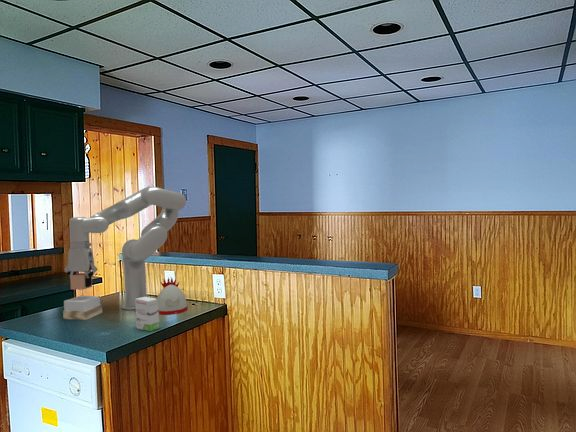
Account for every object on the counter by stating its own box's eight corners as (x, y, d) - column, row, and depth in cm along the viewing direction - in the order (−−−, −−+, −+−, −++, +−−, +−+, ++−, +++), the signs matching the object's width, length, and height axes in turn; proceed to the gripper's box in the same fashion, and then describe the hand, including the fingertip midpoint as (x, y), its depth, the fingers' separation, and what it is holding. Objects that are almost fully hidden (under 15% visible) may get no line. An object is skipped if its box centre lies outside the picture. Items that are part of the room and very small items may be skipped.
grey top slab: (100, 305, 188) (99, 296, 187) (83, 311, 178) (83, 302, 178) (81, 304, 190) (81, 295, 190) (64, 310, 181) (63, 301, 181)
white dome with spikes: (154, 308, 193) (152, 276, 192) (184, 305, 198) (183, 273, 197) (157, 316, 180) (155, 282, 179) (189, 312, 185) (188, 278, 185)
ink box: (160, 328, 164) (158, 298, 163) (149, 331, 160) (148, 301, 159) (146, 324, 169) (145, 295, 168) (135, 328, 165) (134, 298, 164)
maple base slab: (102, 313, 189) (101, 304, 189) (86, 320, 178) (86, 311, 178) (80, 312, 191) (79, 304, 191) (63, 320, 180) (63, 310, 180)
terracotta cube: (92, 286, 186) (91, 273, 186) (83, 289, 180) (82, 275, 180) (80, 286, 187) (79, 273, 187) (70, 289, 181) (70, 275, 181)
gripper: (103, 244, 185) (104, 285, 186) (68, 244, 188) (69, 284, 189) (92, 246, 178) (94, 288, 178) (56, 246, 181) (57, 287, 181)
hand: (81, 286), depth 184 cm, fingers closed on terracotta cube, 6 cm apart
